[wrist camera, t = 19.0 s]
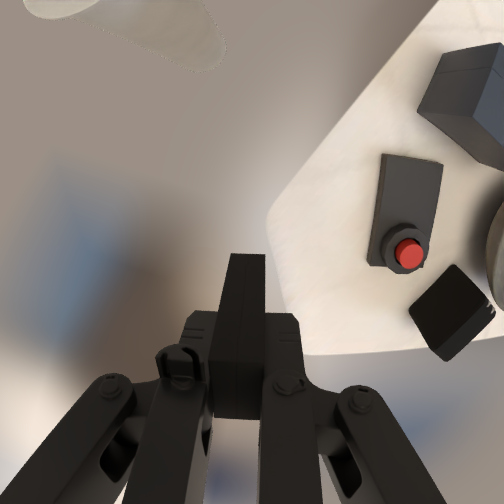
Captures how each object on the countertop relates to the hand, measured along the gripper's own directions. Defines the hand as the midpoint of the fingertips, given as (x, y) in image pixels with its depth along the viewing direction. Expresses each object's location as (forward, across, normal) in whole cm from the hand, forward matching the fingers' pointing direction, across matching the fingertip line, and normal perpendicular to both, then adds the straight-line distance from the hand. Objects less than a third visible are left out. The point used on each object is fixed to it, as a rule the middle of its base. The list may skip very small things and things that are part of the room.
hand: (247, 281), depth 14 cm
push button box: (+24, +18, -4) cm, 30 cm away
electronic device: (+24, +27, -16) cm, 40 cm away
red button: (+21, +18, -7) cm, 29 cm away
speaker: (+24, +26, +11) cm, 37 cm away
